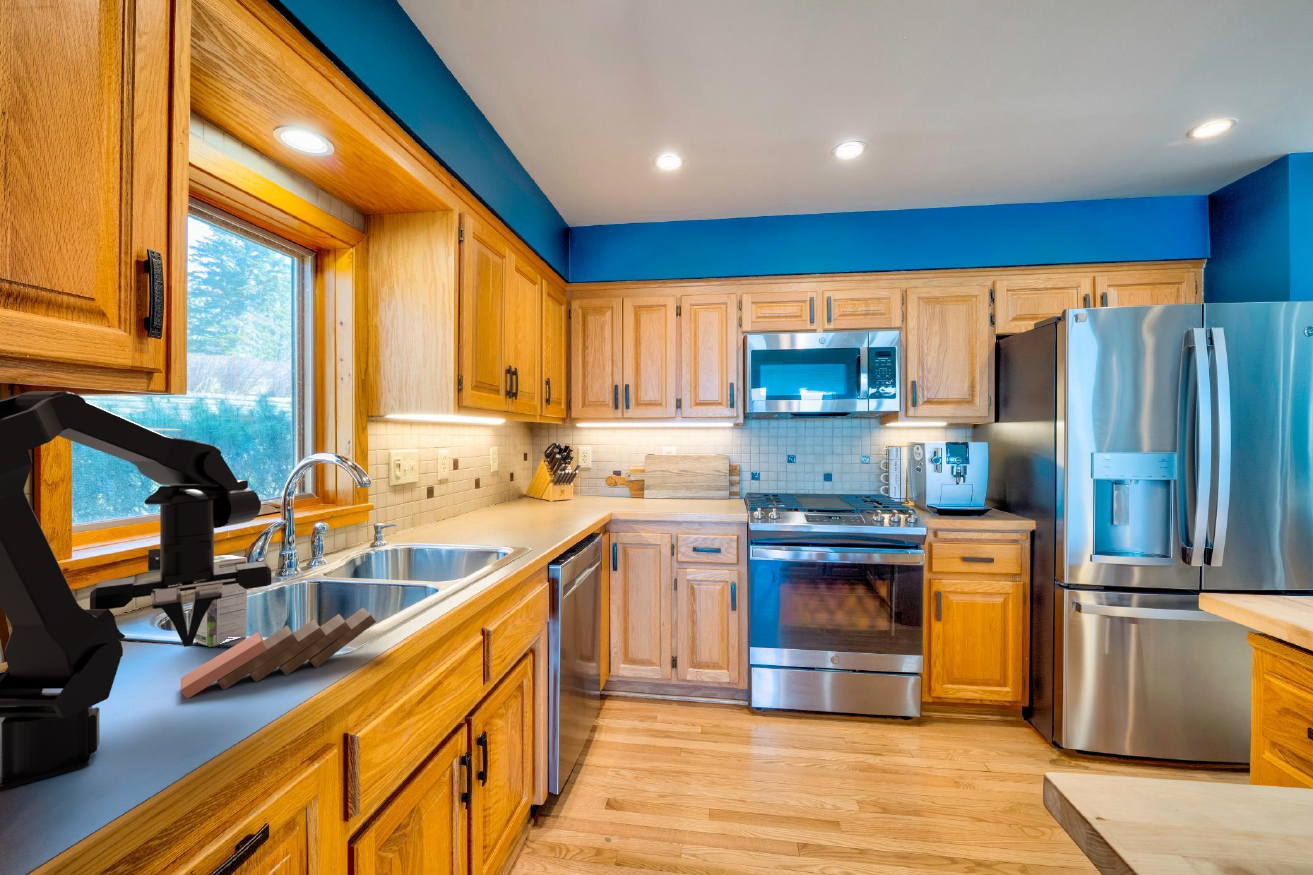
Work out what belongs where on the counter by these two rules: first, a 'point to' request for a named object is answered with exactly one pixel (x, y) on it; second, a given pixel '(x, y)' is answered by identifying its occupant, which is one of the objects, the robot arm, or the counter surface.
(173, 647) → the counter surface
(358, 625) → the domino
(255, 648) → the domino
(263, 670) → the domino
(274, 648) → the domino
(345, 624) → the domino
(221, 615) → the syrup box
